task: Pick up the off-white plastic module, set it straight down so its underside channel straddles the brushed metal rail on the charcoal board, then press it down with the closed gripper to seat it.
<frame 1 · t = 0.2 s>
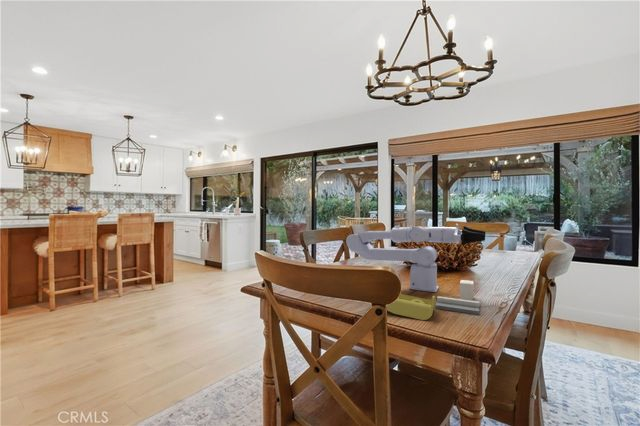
hand: (485, 235, 108), 21 cm above the table, tool horizontal, fingers open, 7 cm apart
rail board: (457, 306, 97), on the table
plastic component: (400, 310, 94), on the table
module: (466, 298, 106), on the table
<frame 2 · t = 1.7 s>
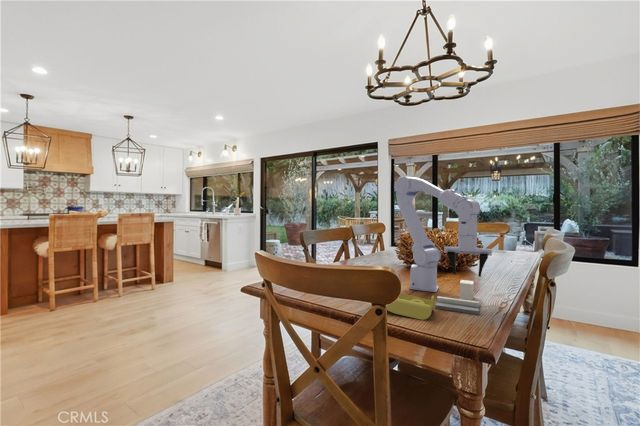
hand: (466, 275, 106), 8 cm above the table, tool pointing down, fingers open, 7 cm apart
nothing on the table moved.
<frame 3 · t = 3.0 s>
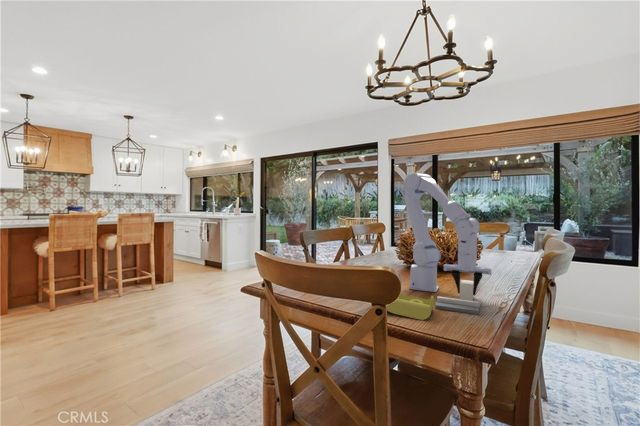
hand: (466, 293, 106), 2 cm above the table, tool pointing down, fingers closed on module, 4 cm apart
module: (466, 298, 106), on the table, touching gripper
everything else where it was.
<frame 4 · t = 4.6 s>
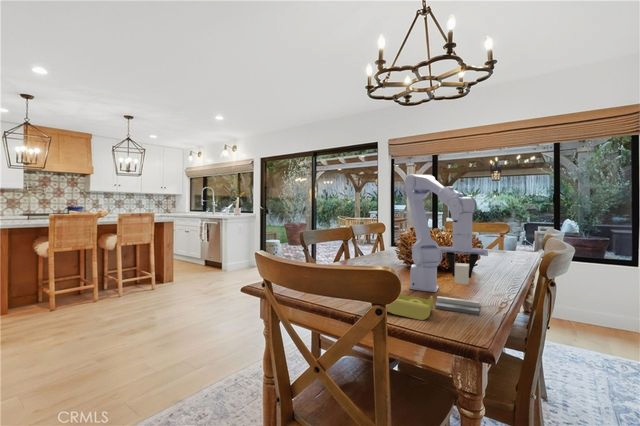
hand: (461, 276, 100), 9 cm above the table, tool pointing down, fingers closed on module, 4 cm apart
module: (461, 282, 100), point 7 cm above the table, touching gripper
everything else where it was.
when the fingers open (4 cm above the table, at t = 6.3 s): module drops 1 cm, resting on rail board.
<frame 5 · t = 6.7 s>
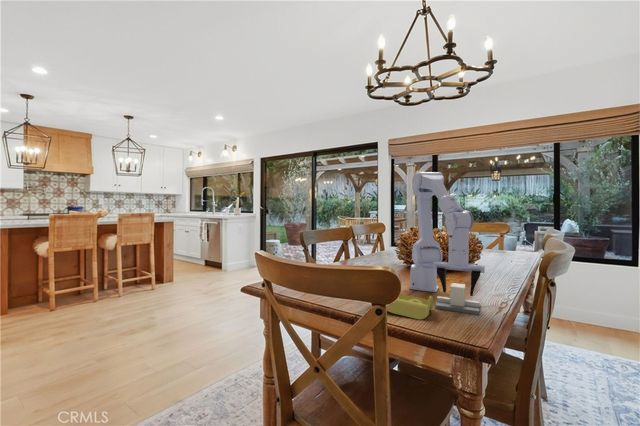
hand: (457, 293, 97), 4 cm above the table, tool pointing down, fingers open, 7 cm apart
module: (457, 303, 97), point 1 cm above the table, touching rail board
everything else where it was.
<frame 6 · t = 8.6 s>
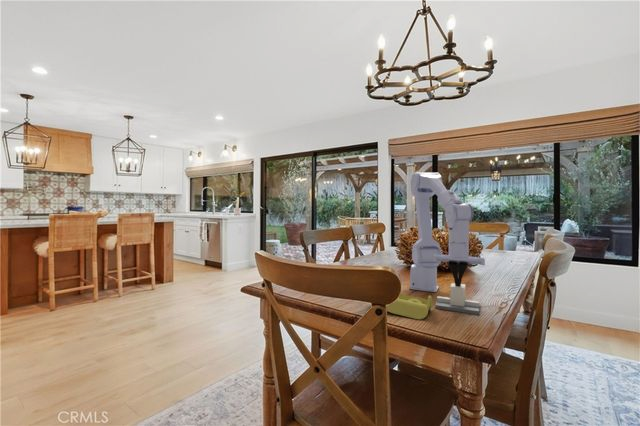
hand: (458, 286, 97), 6 cm above the table, tool pointing down, fingers closed, pressing on module
module: (457, 303, 97), point 1 cm above the table, touching gripper, rail board
everything else where it was.
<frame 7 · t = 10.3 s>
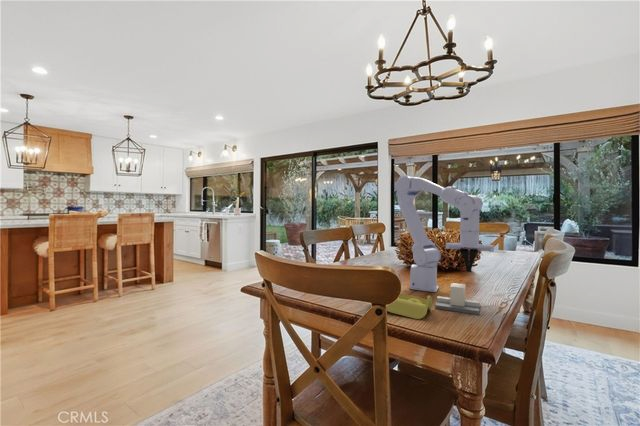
hand: (468, 271, 105), 9 cm above the table, tool pointing down, fingers closed
module: (457, 303, 97), point 1 cm above the table, touching rail board
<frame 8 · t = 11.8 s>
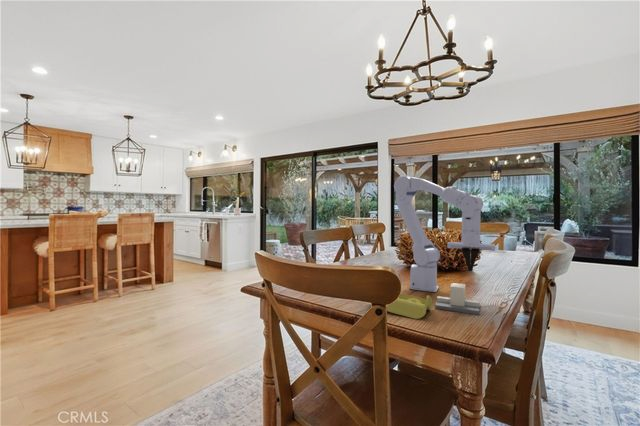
hand: (470, 270, 106), 9 cm above the table, tool pointing down, fingers closed
at the end: module 0.2 cm off-centre on the rail board, point 1.0 cm above the rail board's base; module tilted 0°; the gripper is holding nothing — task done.
